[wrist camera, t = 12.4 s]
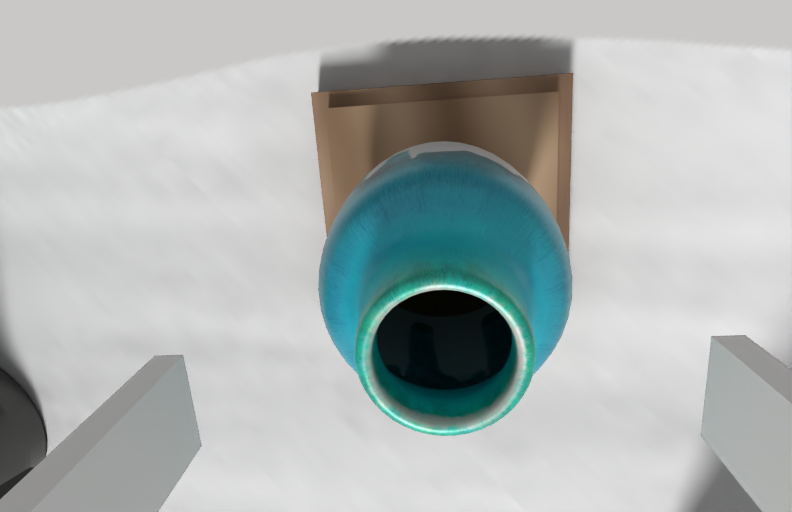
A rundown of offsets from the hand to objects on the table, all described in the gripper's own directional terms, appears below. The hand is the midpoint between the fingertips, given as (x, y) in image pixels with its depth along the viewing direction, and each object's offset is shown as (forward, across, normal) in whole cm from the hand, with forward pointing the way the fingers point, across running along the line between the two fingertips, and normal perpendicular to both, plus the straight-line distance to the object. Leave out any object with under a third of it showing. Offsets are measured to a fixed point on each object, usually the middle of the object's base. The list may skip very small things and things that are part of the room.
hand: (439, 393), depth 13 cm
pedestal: (+24, +1, 0) cm, 24 cm away
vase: (+21, 0, 0) cm, 21 cm away
